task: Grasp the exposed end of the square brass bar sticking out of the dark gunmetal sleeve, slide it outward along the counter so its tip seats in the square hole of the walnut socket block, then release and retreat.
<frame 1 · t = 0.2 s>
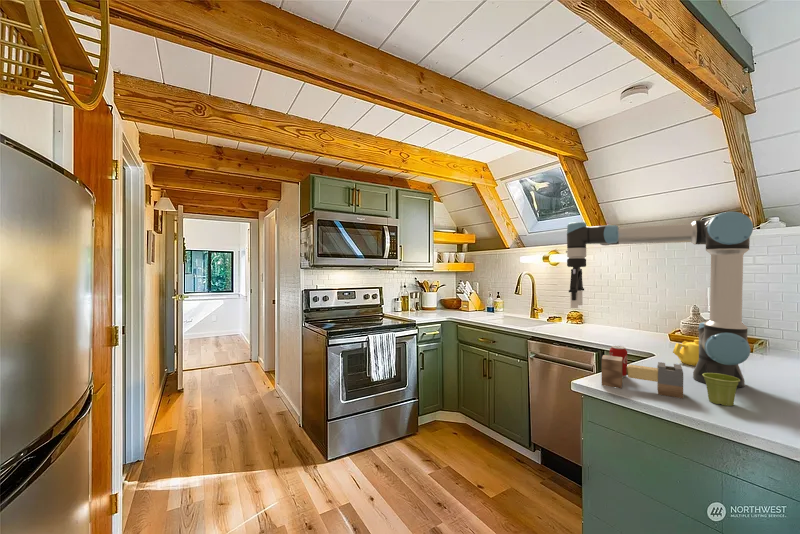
hand: (576, 306, 157), 28 cm above the worktop, fingers open, 13 cm apart
teapot: (695, 363, 169), on the worktop
plant pot: (720, 403, 119), on the worktop
beverage can: (618, 376, 148), on the worktop
sleeve: (669, 393, 128), on the worktop
socket: (612, 384, 138), on the worktop
rod: (652, 374, 130), point 6 cm above the worktop, slide at 0.0 cm
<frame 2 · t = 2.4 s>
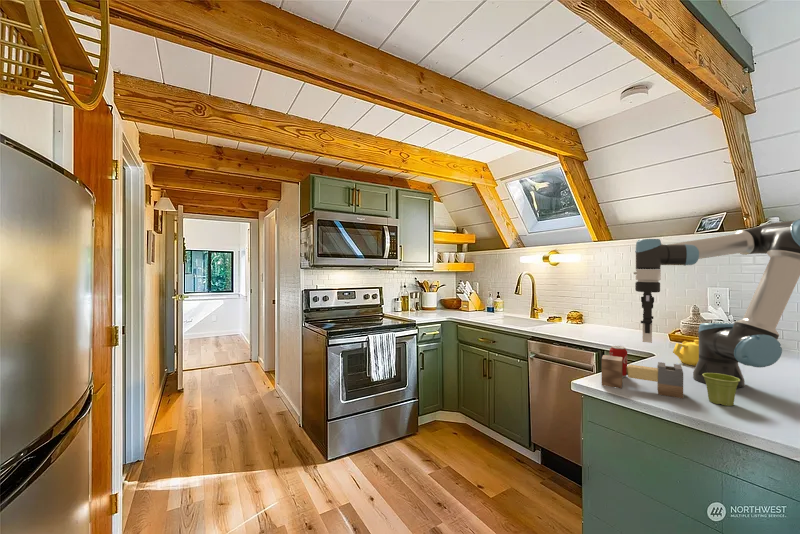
hand: (647, 339, 131), 19 cm above the worktop, fingers open, 13 cm apart
nothing on the worktop moved.
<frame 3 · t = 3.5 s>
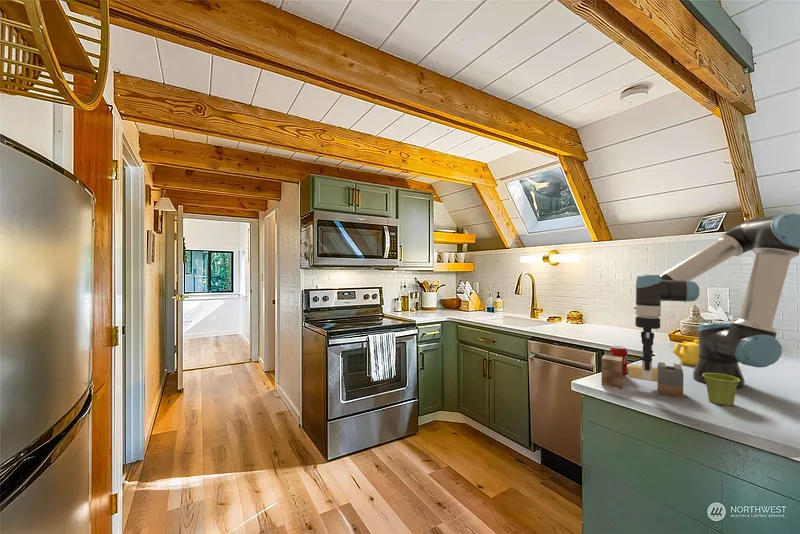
hand: (646, 374, 131), 6 cm above the worktop, fingers open, 13 cm apart
nothing on the worktop moved.
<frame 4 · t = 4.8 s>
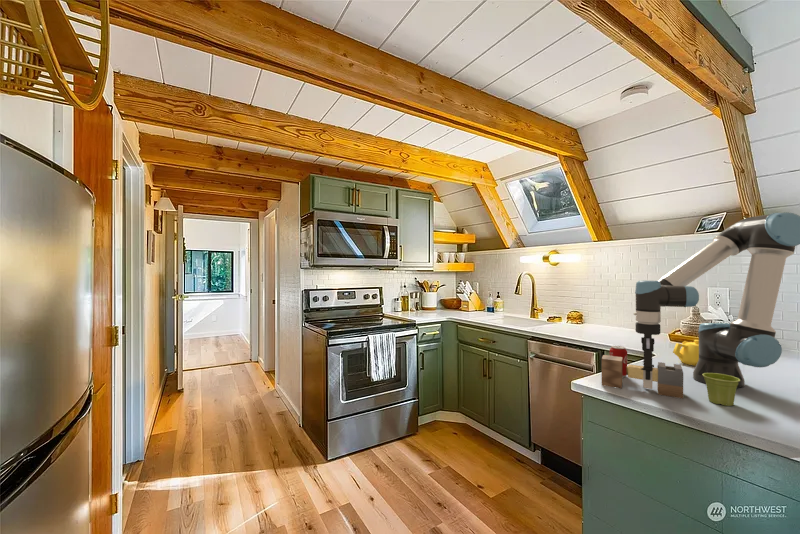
hand: (647, 386, 131), 1 cm above the worktop, fingers closed on rod, 4 cm apart
rod: (652, 374, 130), point 6 cm above the worktop, slide at 0.0 cm, touching gripper
everything else where it was.
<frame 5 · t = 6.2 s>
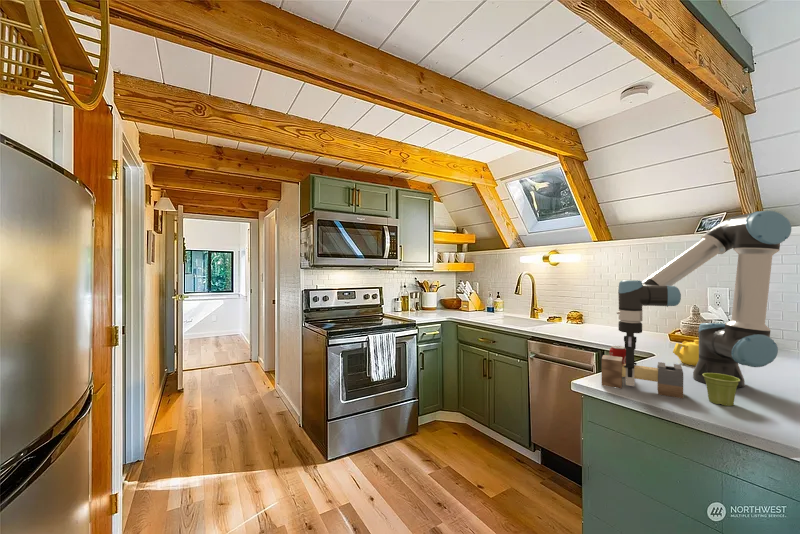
hand: (630, 383, 134), 1 cm above the worktop, fingers closed on rod, 4 cm apart
rod: (634, 371, 133), point 6 cm above the worktop, slide at 5.4 cm, touching gripper
everything else where it was.
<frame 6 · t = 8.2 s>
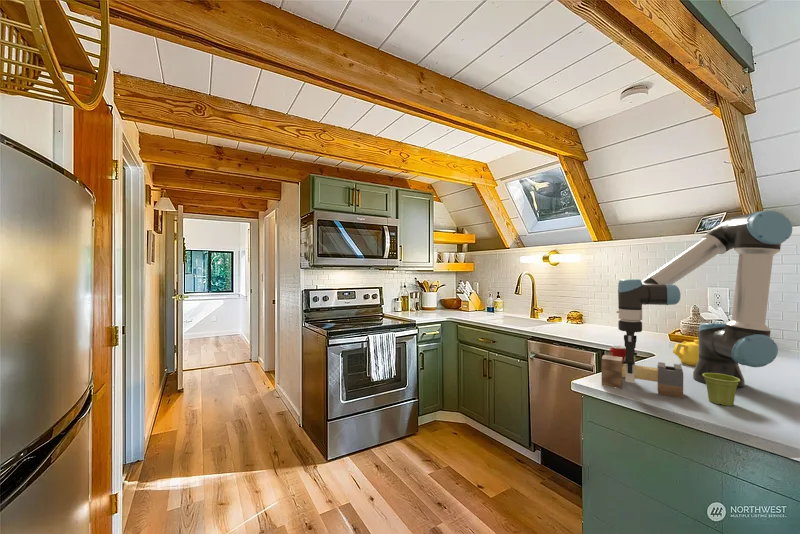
hand: (630, 376, 134), 4 cm above the worktop, fingers open, 13 cm apart
rod: (634, 371, 133), point 6 cm above the worktop, slide at 5.5 cm
everything else where it was.
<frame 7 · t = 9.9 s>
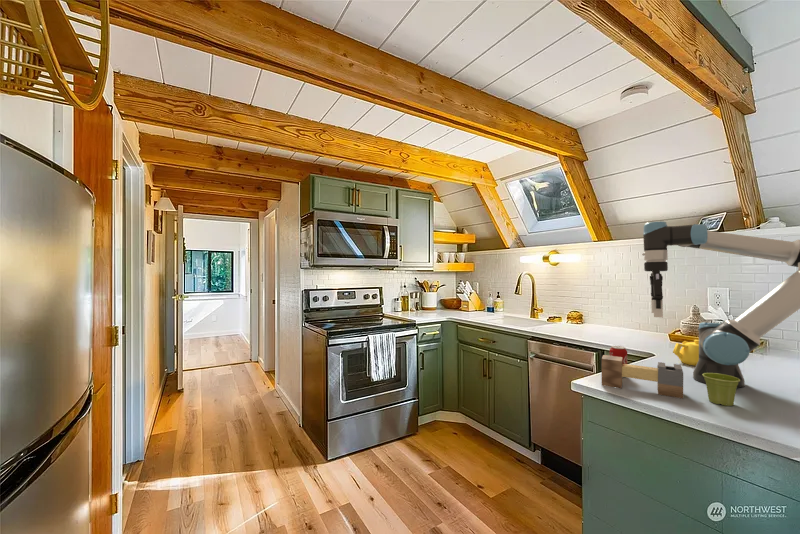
hand: (656, 315, 141), 26 cm above the worktop, fingers open, 13 cm apart
nothing on the worktop moved.
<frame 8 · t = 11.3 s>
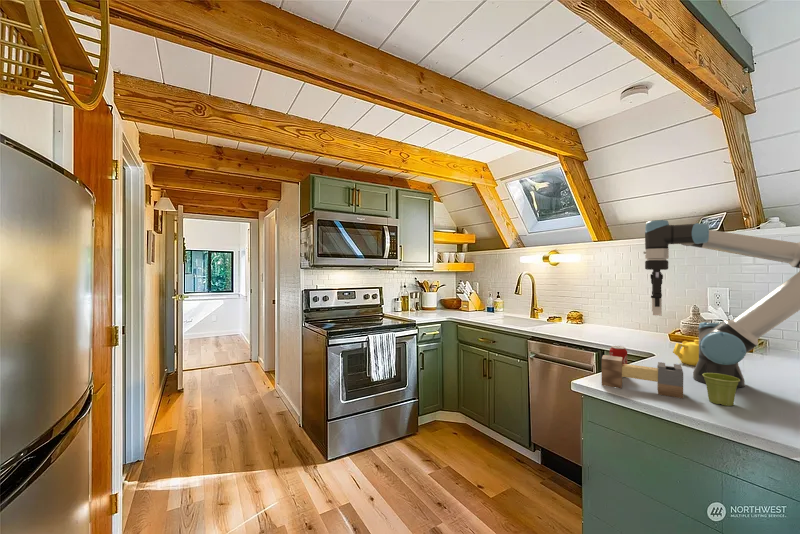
hand: (656, 313, 142), 27 cm above the worktop, fingers open, 13 cm apart
nothing on the worktop moved.
at the end: rod slide at 5.5 cm; the gripper is holding nothing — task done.
